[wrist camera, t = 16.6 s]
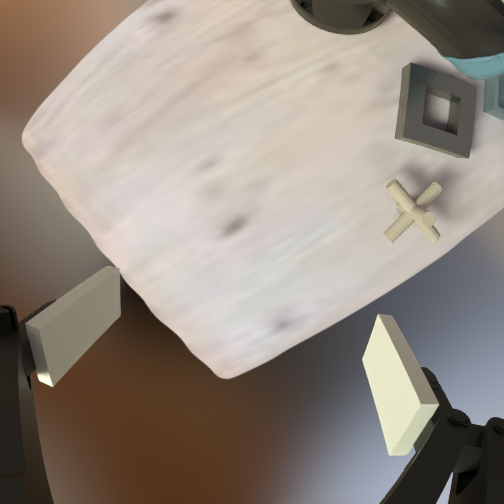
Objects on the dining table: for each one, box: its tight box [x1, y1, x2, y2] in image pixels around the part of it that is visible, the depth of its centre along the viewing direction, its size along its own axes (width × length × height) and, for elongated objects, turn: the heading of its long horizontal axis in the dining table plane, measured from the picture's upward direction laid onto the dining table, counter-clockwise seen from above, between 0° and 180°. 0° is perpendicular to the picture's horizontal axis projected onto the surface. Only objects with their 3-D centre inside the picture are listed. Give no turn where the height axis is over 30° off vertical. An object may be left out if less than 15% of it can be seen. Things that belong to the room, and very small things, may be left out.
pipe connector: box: [384, 179, 443, 243], centre depth 39 cm, size 10×10×10 cm
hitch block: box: [395, 63, 476, 158], centre depth 37 cm, size 11×11×4 cm
